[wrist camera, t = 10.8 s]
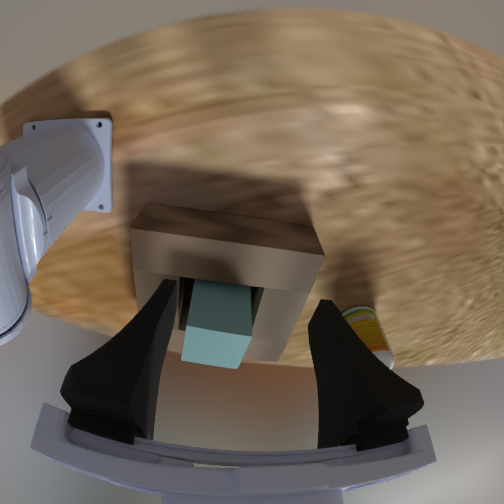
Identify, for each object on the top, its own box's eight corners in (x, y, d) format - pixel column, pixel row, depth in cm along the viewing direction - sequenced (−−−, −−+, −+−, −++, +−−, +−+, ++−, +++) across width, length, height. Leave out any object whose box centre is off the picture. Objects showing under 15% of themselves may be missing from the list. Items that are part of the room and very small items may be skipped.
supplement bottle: (324, 322, 30) (342, 397, 23) (364, 297, 28) (393, 372, 21) (345, 339, 33) (364, 407, 25) (381, 318, 31) (408, 385, 23)
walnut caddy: (151, 317, 29) (144, 345, 26) (146, 203, 21) (130, 228, 18) (274, 332, 31) (277, 361, 28) (313, 227, 23) (325, 255, 20)
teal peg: (192, 292, 27) (181, 360, 21) (199, 255, 25) (186, 325, 18) (237, 300, 28) (237, 368, 21) (249, 266, 25) (252, 336, 19)
